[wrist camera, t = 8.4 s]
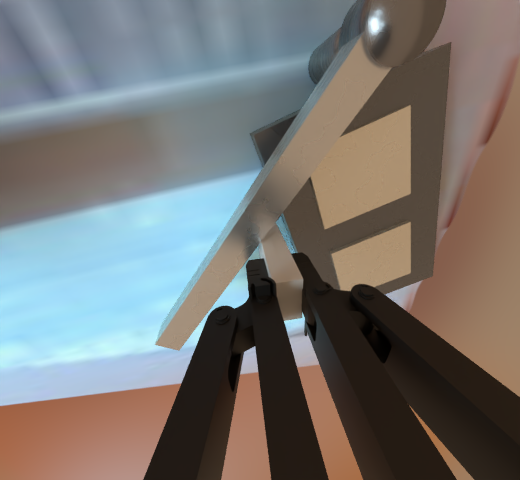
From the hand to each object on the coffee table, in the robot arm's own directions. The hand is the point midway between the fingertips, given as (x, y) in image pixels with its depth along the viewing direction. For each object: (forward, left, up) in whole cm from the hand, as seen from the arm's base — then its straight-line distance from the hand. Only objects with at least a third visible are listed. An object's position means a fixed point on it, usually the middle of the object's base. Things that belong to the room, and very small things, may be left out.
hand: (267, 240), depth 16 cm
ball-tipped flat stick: (-3, 0, 0) cm, 3 cm away
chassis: (+2, +9, -5) cm, 11 cm away
